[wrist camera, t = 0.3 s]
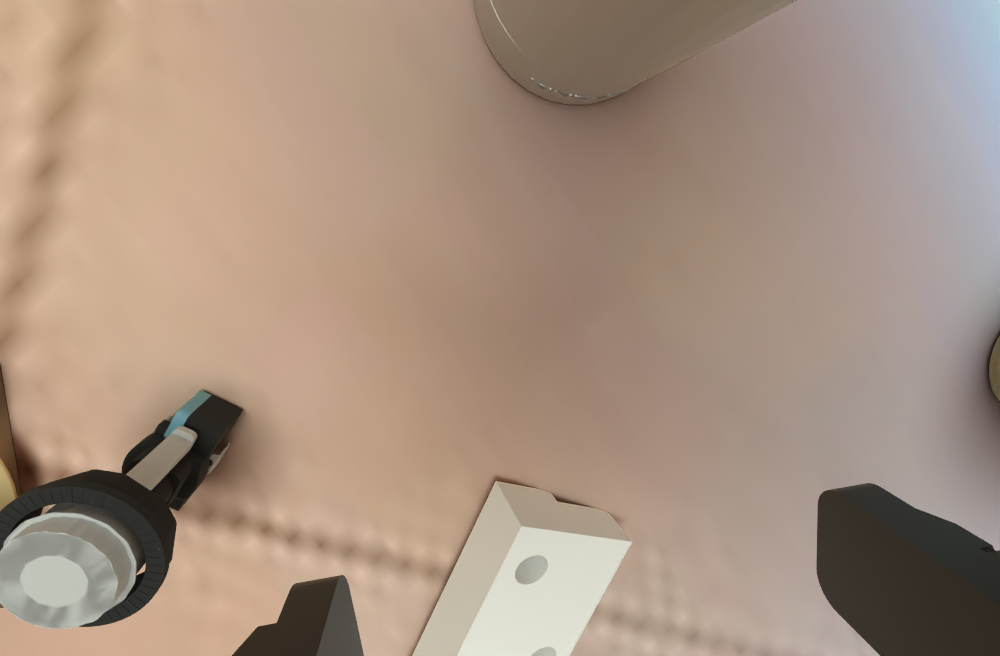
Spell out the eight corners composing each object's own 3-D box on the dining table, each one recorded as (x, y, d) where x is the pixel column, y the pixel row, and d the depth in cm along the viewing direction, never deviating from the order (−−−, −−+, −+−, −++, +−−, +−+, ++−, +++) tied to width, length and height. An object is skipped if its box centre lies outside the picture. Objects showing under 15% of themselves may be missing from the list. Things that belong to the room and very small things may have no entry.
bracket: (508, 669, 33) (561, 806, 26) (404, 670, 30) (436, 826, 23) (597, 499, 30) (682, 602, 24) (495, 480, 27) (560, 593, 21)
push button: (214, 519, 27) (89, 703, 17) (110, 475, 25) (-88, 646, 16) (275, 416, 26) (178, 549, 16) (169, 364, 24) (-4, 476, 15)
